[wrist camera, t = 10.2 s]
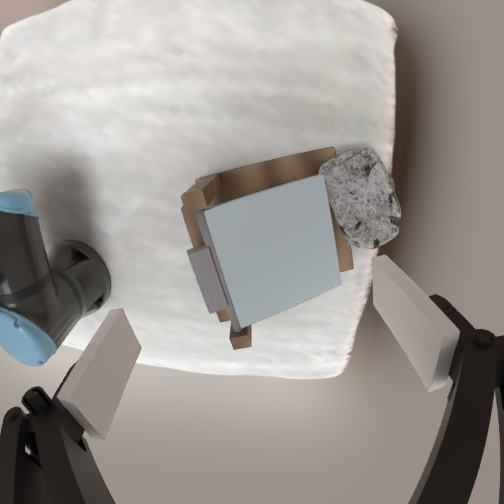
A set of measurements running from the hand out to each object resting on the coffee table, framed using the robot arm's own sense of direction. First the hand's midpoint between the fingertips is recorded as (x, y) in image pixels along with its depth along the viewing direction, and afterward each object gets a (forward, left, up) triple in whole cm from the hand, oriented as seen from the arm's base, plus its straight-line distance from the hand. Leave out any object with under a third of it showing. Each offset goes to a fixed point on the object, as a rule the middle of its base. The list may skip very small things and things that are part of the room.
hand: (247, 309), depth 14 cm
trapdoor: (+1, -7, -23) cm, 24 cm away
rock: (+15, -4, -27) cm, 31 cm away
